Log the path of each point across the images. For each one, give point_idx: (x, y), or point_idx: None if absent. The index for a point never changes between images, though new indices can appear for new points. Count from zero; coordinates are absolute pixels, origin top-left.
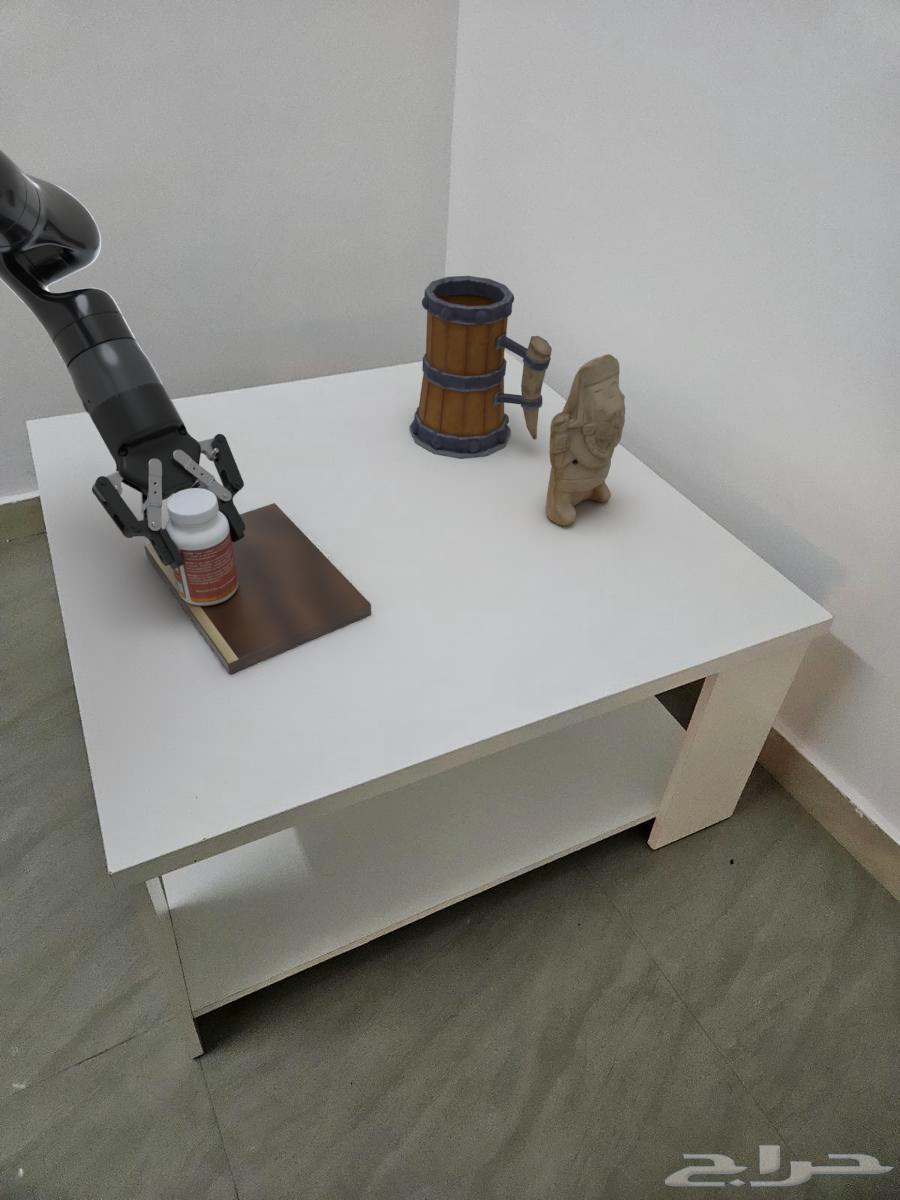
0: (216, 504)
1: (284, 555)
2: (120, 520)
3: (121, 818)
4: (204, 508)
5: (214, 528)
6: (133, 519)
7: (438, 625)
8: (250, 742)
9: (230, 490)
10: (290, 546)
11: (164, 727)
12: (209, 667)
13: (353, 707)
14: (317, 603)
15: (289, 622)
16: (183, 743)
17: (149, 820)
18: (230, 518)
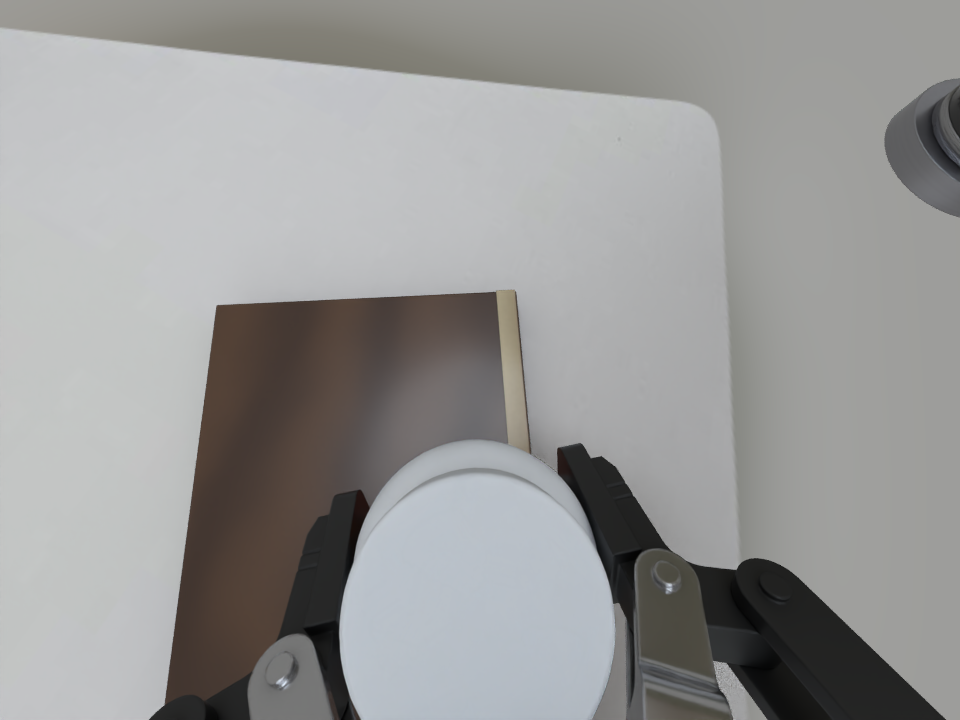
0: (371, 531)
1: (269, 551)
2: (812, 706)
3: (707, 153)
4: (443, 506)
5: (430, 473)
6: (787, 623)
7: (159, 239)
8: (531, 177)
9: (237, 717)
10: (236, 581)
11: (631, 254)
12: (536, 334)
13: (380, 164)
14: (301, 355)
15: (375, 332)
16: (614, 217)
17: (677, 137)
18: (340, 551)
